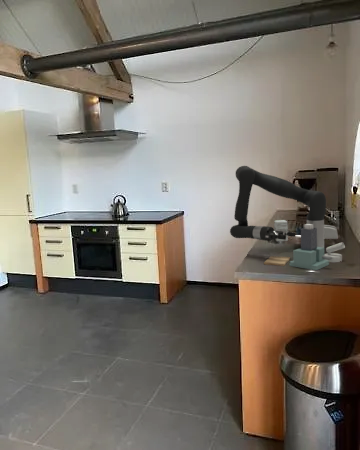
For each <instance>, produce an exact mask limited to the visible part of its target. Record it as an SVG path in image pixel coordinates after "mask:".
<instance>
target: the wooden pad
mask: <svg viewBox="0 0 360 450" xmlns="http://www.w3.org/2000/svg"><path fill="white" fill-rule="evenodd" d="M290 261H291V257H290V256H277V255H276V256H274V255H271V256H269V257H268V258H267V259H266V260H265V261H263V265H265V266H281V267H282V266H283V267H285V266H286V265H287V263H288V262H290Z"/></svg>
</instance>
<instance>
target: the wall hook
mask: <svg viewBox="0 0 360 450" xmlns="http://www.w3.org/2000/svg"><path fill="white" fill-rule="evenodd" d="M345 248H346V246H345V244H344V242H339V243H336V244H333V245H331V246H327V247H326V248H325V252H326V253H324V256H331V257H332V259H331V260H327V259H324V260H327V261H329V263H341V262H342V261H343V254H341V253H334V252H336V251H340V250H343V249H345ZM340 261H341V262H340Z"/></svg>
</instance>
